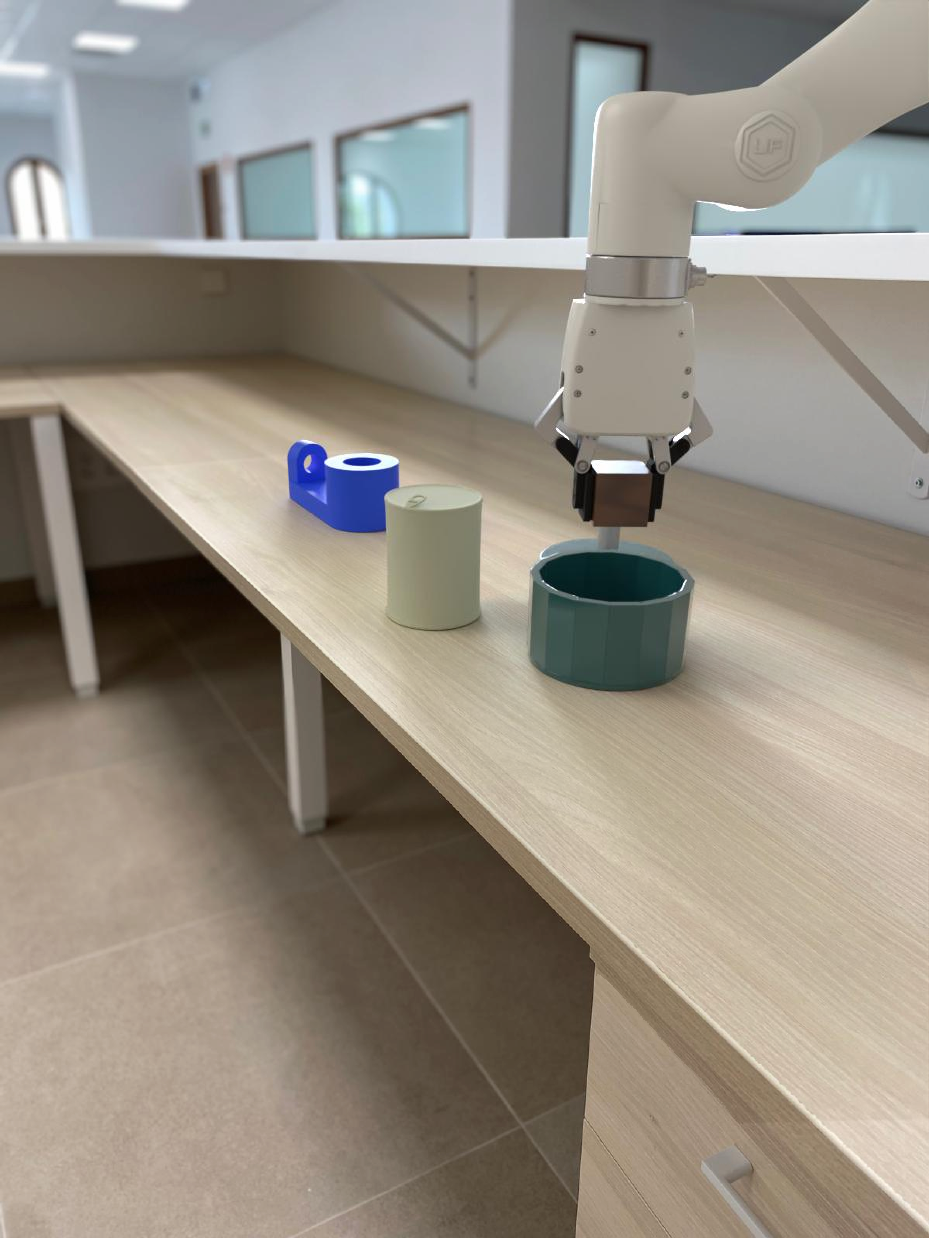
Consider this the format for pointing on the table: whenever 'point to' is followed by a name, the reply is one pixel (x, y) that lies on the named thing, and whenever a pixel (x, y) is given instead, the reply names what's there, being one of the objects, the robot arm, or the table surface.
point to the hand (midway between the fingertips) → (615, 515)
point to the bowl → (609, 619)
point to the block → (621, 493)
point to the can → (433, 555)
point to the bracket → (342, 486)
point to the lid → (604, 545)
